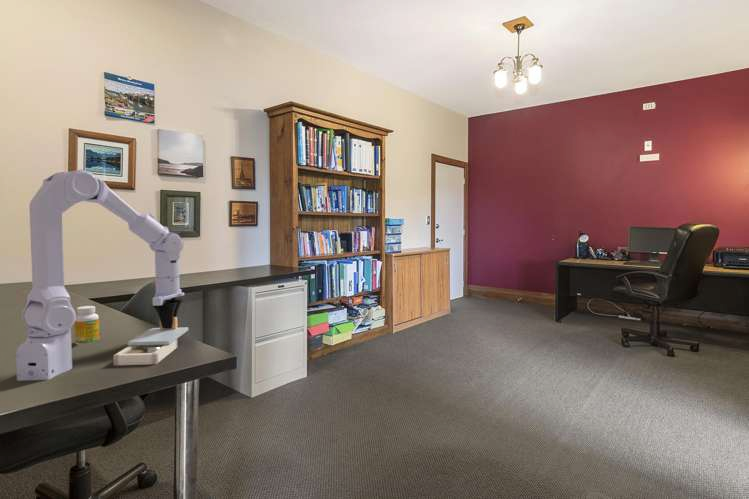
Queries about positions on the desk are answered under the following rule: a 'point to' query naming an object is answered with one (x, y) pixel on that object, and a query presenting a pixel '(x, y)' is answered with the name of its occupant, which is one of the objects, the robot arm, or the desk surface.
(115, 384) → the desk surface
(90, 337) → the supplement bottle
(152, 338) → the lid
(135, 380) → the desk surface
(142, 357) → the tub
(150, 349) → the steel bushing
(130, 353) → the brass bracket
